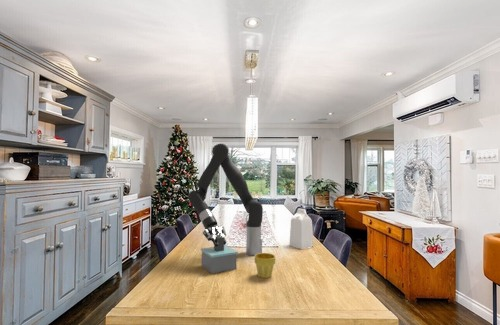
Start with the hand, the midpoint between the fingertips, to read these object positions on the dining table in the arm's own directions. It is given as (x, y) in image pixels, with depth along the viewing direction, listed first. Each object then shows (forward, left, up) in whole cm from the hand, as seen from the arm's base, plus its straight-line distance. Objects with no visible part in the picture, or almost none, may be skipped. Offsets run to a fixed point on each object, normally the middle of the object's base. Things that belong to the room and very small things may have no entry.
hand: (221, 244), depth 147 cm
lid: (0, -2, -4) cm, 5 cm away
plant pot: (-15, +20, -13) cm, 28 cm away
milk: (-69, -14, -13) cm, 71 cm away
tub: (0, -2, -12) cm, 12 cm away
